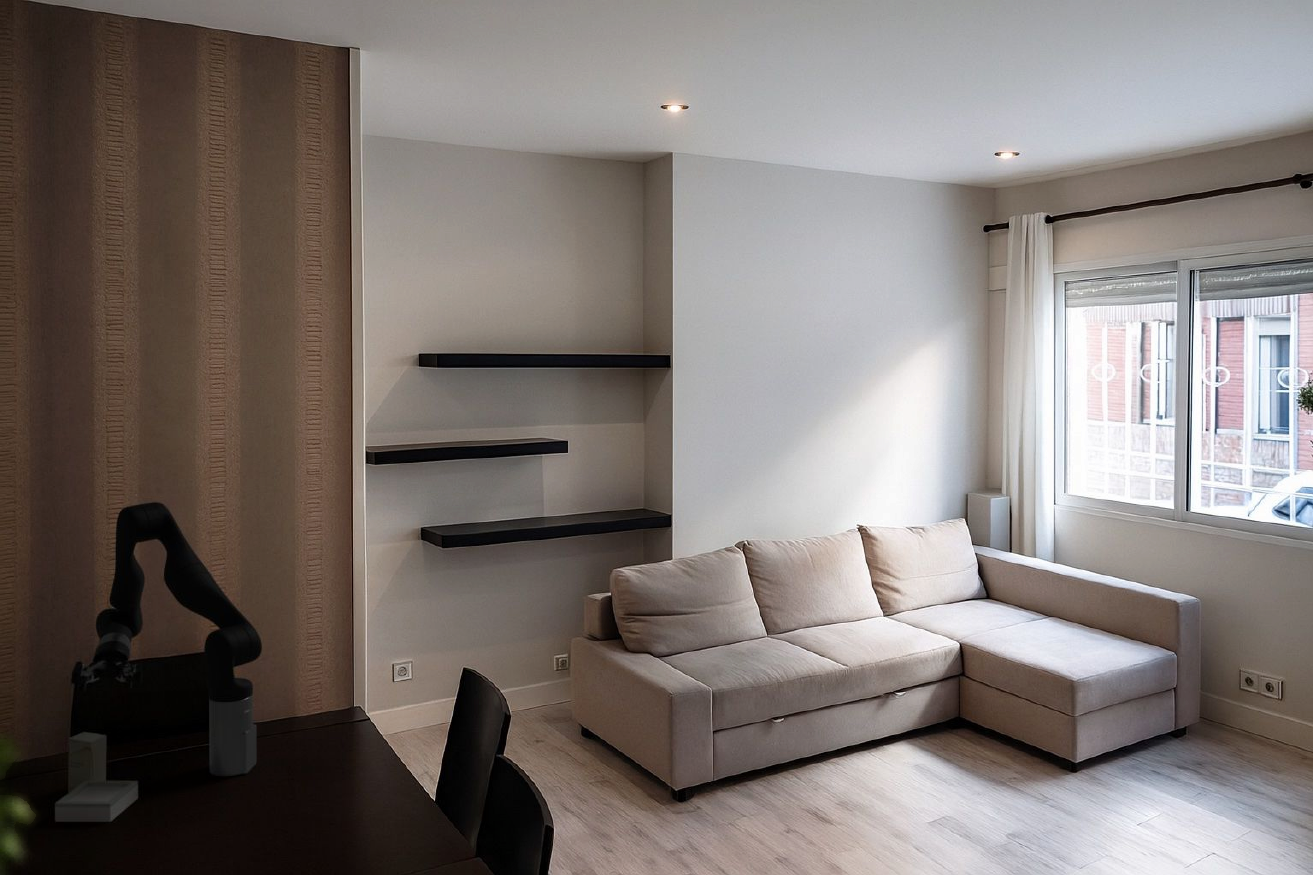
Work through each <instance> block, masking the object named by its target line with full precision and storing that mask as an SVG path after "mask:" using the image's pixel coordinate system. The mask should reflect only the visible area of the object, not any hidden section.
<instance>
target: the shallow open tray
mask: <svg viewBox="0 0 1313 875" xmlns="http://www.w3.org/2000/svg"><path fill="white" fill-rule="evenodd" d="M138 799H139V780H106V781H84V782H83V783H82V784H80V785H79V786H78V787H76V788H75V789H74V790H72V791H71V792H70V793H69V792H68V793H67V794H65V795H64V796H62V797H61V798H60V799H58V800H57V801H56V802H55V803H54V822H57V823H58V822H59V823H62V822H63V823H64V822H65V823H66V822H67V823H69V822H70V823H111V822H112V821H113V820H114V819H115V818H116V817H118V816H119V815H120V814H121V813H123V812H124V811H125V810H126V809H127V808H128V807H130V806H131V805H132V804H133V803H134V802H136V801H137V800H138Z"/></svg>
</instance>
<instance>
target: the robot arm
mask: <svg viewBox="0 0 1313 875" xmlns="http://www.w3.org/2000/svg"><path fill="white" fill-rule="evenodd" d="M115 527H116V528H115V546H114V547H115V549H114V550H115V559H114V560H115V563H114V564H115V566H114V575H113V581H112V585H111V589H110V593H109V594H110V595H109V599H108V601H109V604H110V606H111V607H113V608H105V609H103V610H101V611H100V612H99V613H98V615H97V616H96V619H95V631H96V633H97V636H98V637H99V640H98V643H97V645H96V647H95V651H94V654H93V658H92V661H91V662H90V663H89V664H83V661H76V662H75V665H74V668H73V669H72V672H71V680H70V683H71V684H78V685H77V690H78V691H80V693H85V691H86V688H87V684H88V683H94V682H96V681H98V680H103V679H104V680H105V679H109V680H110V679H112V680H113V679H116V680H117V681H119V682H121V683H123V682H124V687H123V688H124V689H123V692H128V691H129V690H131V689H132V685H133V683H134V682H135V683H141V682H143V681H142V680H143V678H142V677H143V666H144V665H143V664H144V663H143V661H141V660H138V661H137V662H136V663H134V664H133V663H131V664H130V662H129V661H130V658H131V655H132V654H131V652H132V651H131V650H132V646H131V645H132V640H133V638H136V637H137V636H138V635H139V634H140V633H141V632H142V629H143V625H144V623H143V622H144V621H143V613H142V607H141V603H142V602H141V601H142V595H143V591H144V588H145V582H146V581H145V580H146V578H145V572H144V570H143V568H142V566H141V565H140V563H139V561H138V560H137V559H136V556H135V549H136V546H137V544H138V543H139V544H140V543H144V542H149V541H154V540H156V541H157V540H158V541H159V542H160V543H161V544H162V546H163V547H164V549H165V552H166V559H165V563H164V567H163V568H164V569H163V582H164V583H165V586H166V587H167V589H168V590H169V591H170V593H171V595H172V596H173V597H174V599H175V601H177V602H178V604H180V605H181V606H182V607H183V608H186V609H187V610H189V611H190V612H192V613H195V614H196V615H199V616H200V617H203V618H205V619H206V620H208V621H209V622H211V623H213V625H215V626H216V628H219V629H215V630H212V631H211V632H209V633H208V635H207V636H206V639H205V642H204V648H203V649H204V650H203V654H204V668H205V682H206V687H207V690H208V700H209V701H208V703H209V705H208V706H209V707H208V708H209V709H208V710H209V711H208V714H209V715H208V716H209V722H208V723H209V726H208V727H209V728H208V730H209V732H208V733H209V734H208V735H209V736H208V738H209V739H208V740H209V741H208V742H209V752H208V753H209V773H210V774H211V775H212V776H217V777H233V776H238V775H242V774H243V775H245V774H248V773H249V772H250V771H251V770H252V769H253V767H254V766H256V764H257V724H256V723H254V688H253V687H254V685H253V682H252V681H251V680H250V679H248V678H243V677H235V672H234V671H235V670H234V669H235V668H236V667H239V666H243V665H246V664H247V665H248V664H249V663H250V664H251V662H255V661H256V660H258V659H259V657H260V656H261V654H262V651H263V645H262V644H263V643H262V641H261V636H260V635H259V633H258V631H257V630H256V628H255V627H254V626H253V624H252V623H251V622H250V621H249V620H248V619H247V618H246V616H244V615H243V614H242V613H241V611H240V610H239V609H238V608H237V607H236V606H235V605H234V604H233V602H232V601H231V600H230V599H229V597H228V596H227V595H226V593H225V592H224V591H223V590H222V588H221V587H220V586H219V584H218V583H217V581H216V580H215V579H214V578H215V577H213V576H212V574H211V572H210V571H209V570H208V568H207V567H206V566H205V564H204V563H203V561H201V560H200V558H199V556H198V555H197V553H195V551H194V549H193V547H191V545H190V544H189V541H187V539H186V537H185V535H184V534H183V532H182V530H181V527H179V525H178V523H177V521H176V520H175V518H174V516H173V514H172V512H171V511H170V510H169V509H168V507H167V506H166V505H165V504H163V503H161V502H159V501H153V502H146V503H140V504H135V505H129V506H125V507H123V508H122V509H121V510H120V511H119V512H118V516H117V520H116V526H115Z"/></svg>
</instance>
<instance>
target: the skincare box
mask: <svg viewBox="0 0 1313 875" xmlns="http://www.w3.org/2000/svg"><path fill="white" fill-rule="evenodd" d="M67 769H68V773H67V774H68V775H67V777H68V782H67V786H68V787H67V792H68V793H70V792H71V791H72V790H74V789H75V788H76V787H78V786H79V785H80V784H82V783H83V782H84V781H107V734H101V733H96V732H88V731H82V732H79V733H78V734H75V735H73V736H71V737H69V738H68V768H67Z"/></svg>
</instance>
